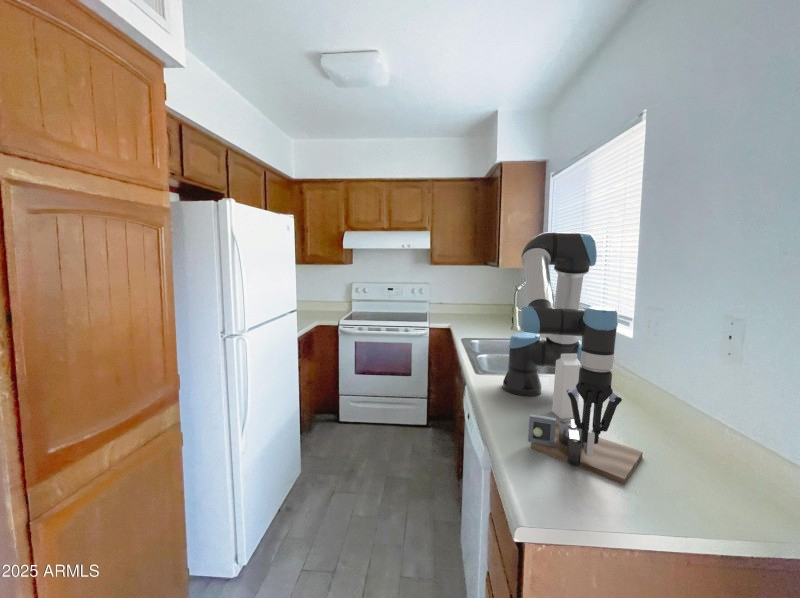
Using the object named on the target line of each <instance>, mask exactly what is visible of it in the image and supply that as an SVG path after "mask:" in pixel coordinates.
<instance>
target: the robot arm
mask: <svg viewBox="0 0 800 598" xmlns="http://www.w3.org/2000/svg"><path fill="white" fill-rule="evenodd" d="M597 251H598V250H597V241H596V239H595V237H594V235H593V234H592V233H590V232H581V231H574V232H573V231H572V232H571V231H567V232H563V231H561V232H552V231H548V232H547V231H546V232H542V233H539V234H538V235H536V236H534V237H532V239H530V240H529V241H528V242H527V244H525V246H524V247H523V249H522V252H521V264H522V267H523V268H524V269H525V270H524V274H525V291H526V306H523V307H521V309H520V310H521V311H520V321H519V322H520V326H519V327H520V329H521V331H522V332H518V333H514V334H512V335H511V336H510V338H509V345H508V348H509V349H508V350H509V352H508V353H509V354H508V364H507V365H508V366H507V367H508V368H507V371H506V373H505V376H504V379H503V381H502V389H503V390H504V391H506V392H507V393H511V394H513V395H518V396H524V397H526V396H528V397H534V396H538V395H540V394H541V393H542V383H541V379H540V376H539V367H541V368H543V367H544V368H555V367H556V360H558V359H560V358H561V354H577V358H578V360H579V362H580V364H581V367H580V369H579V381H578V384H577V385H576V388H575V389H573V390H567V391H566V392H567V394H568V396H569V398H570V401H571V406H572V411H573V417H574V418H573V419H574V422H575V425H576V427H577V428H578V429H582V433H581V439H582V441H583V442H584V443H585V445H584V452H585V454H586V456H589V457H593V449H594V444H598V439H599V437H600V435H601V433H602V432H605V433H606V432H607V431H608V429H609V427H610V425H611V422H612V420H613V417H614V415H615V412H616V409H617V407H618V406H619V404H620V403H621V402H622V401H623V399H622V397H621V396H620V395H619V394H617V393H615V392H614V391H613V388H612V380H613V371H612V370H613V369H614V361H615V359H614V358H615V347H616V340H617V337H616V336H617V329H618V324H619V321H618V311H617V310H616V309H614V308H612V307H611V308H609V307H605V306H588V307H582V308H580V301H581V295H582V288H583V283H584V282H583V280H584V276H585V275H586V274H589V273H590V272H589V271H590V267H594V266H595V265H596V263H597V258H598V257H597V256H598V252H597ZM549 265H550V266H554V267H553V269H554V270H555V272H556V274H557V277H556V288H555V296H554V297H553V290H552V289H553V288H552V282H551V281H552V280H551V274H550V268H549ZM541 335H546V337H541ZM580 337H581V340H580ZM577 393H579V396H580V397H581V398H582V400H583V406H582V416H581V415H580V411H579V403H578V404H577V400H576V398H577V397H578V396H577ZM608 399H609V400H608ZM607 400H608V403H607V405H606V408H605V410H604V413H603V415H602V411H603V410H602V409H603V404H604V402H605V401H607ZM592 406H593V415H592V416H593V417H592V425H591V426H592V428H590V420H591V411H592Z"/></svg>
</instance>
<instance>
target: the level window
mask: <svg viewBox="0 0 800 598" xmlns="http://www.w3.org/2000/svg"><path fill="white" fill-rule="evenodd" d="M528 418H529V419H528V420H529V421H528V435H527V442H529V443H531V442H532V443H537V444H543V445H548V446H553V447H554V439H555V426H556V423H557V418H556V417H552V416H551V417H550V416H544V415H538V414H532V413H529V417H528Z"/></svg>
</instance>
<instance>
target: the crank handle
mask: <svg viewBox="0 0 800 598" xmlns="http://www.w3.org/2000/svg"><path fill="white" fill-rule="evenodd" d="M559 424H560V425H559V438H558V439H559V441H560V442H561V443H563V444H565V445H567V447H568V461H567V462H568V463H567V462H566V463H567V464H568V465H570V466H571V467H578V466H580V460H581V448H582V447H583V446H584V445H585V443H584V442H583V441H582V439H581V433H582V429H578V428H577V427H576V425H575V422H574V418H570V419H560V421H559Z"/></svg>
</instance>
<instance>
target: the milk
mask: <svg viewBox="0 0 800 598" xmlns="http://www.w3.org/2000/svg"><path fill="white" fill-rule="evenodd" d="M581 366H582V365H581V364H580V362H579V360H578V358H577V354H561V358H560V359H558V360H556V367H555V369H554V380H553V381H554V383H553V384H554V385H553V395H552V396H553V397H552V398H553V399H552V409H551V412H553V414H555V416H557V417H558V418H559V419H560V420H564V419H570V420H571V419H574V417H573V411H572V406H571V401H570V398H569V396H568V394H567V392H566V391H567V390H573V389H575V388H576V385H577V384H578V381H579V369H580V367H581ZM577 396H578V397H577V398H576V400H577V404H578V405H579V399H580V394H579V393H577Z"/></svg>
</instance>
